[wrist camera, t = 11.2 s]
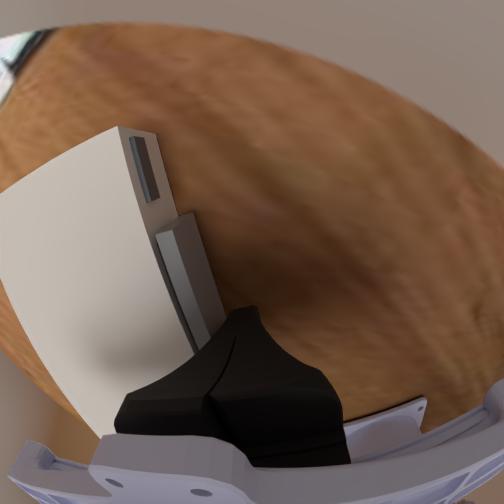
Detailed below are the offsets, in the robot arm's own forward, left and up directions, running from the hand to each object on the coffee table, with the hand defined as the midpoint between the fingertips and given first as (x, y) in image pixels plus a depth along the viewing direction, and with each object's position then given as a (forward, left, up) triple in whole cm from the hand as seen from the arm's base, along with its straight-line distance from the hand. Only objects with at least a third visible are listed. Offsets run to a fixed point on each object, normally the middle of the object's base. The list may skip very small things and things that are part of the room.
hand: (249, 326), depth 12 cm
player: (+2, +6, -2) cm, 7 cm away
